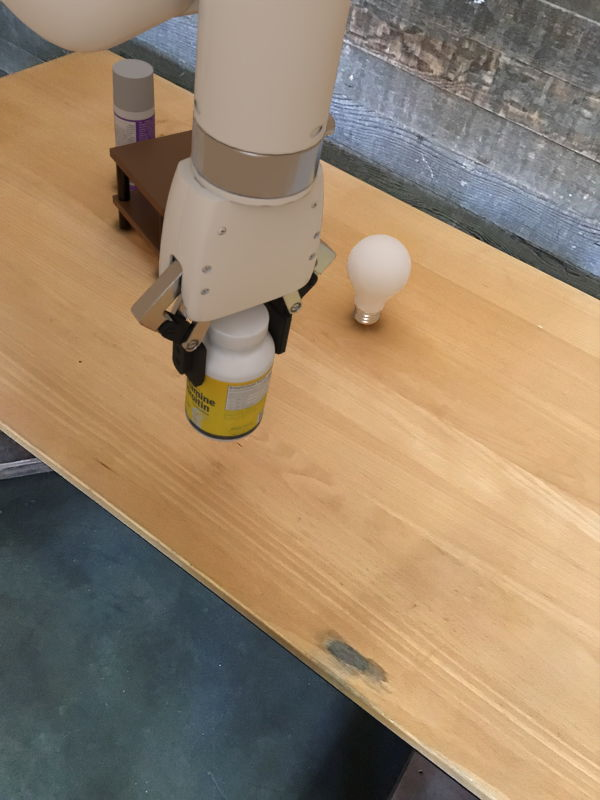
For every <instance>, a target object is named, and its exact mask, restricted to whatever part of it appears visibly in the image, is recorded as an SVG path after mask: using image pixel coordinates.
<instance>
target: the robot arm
mask: <svg viewBox="0 0 600 800" xmlns="http://www.w3.org/2000/svg"><path fill="white" fill-rule="evenodd" d="M0 1H1V2H2V4H4V6H6V8H7V9H8V10H9V11H10V12H11V13H12V14H13V15H14V16H15V17H16V18H17V19H19V20H20V21H21V23H23V24H24V25H25V26H26V27H28V28H29V29H30V30H31V31H33V32H34V33H35V34H37V35H38V36H39V37H41V38H42V39H44V40H45V41H47V42H49V43H51V44H52V45H54V46H57V47H59V48H61V49H64V50H66V51H69V52H70V51H71V52H76V53H84V54H92V53H98V52H103V51H108V50H109V49H113V48H115V47H117V46H119V45H121V44H123V43H125V42H127V41H130V40H132V39H133V38H136V37H137V36H140V35H142V34H144V33H147V32H148V31H150V30H151V29H153V28H155V27H158V26H159V25H161V24H163V23H166V22H167V21H169V20H171V19H174V18H179V17H185V16H191V15H196V14H197V28H196V47H195V48H196V49H195V66H194V85H193V86H194V87H193V90H194V91H193V106H192V107H193V109H192V124H191V125H192V126H191V127H192V128H191V130H192V144H191V157H189V158H186V159H184V160H181V161H180V162H179V163H178V166H177V169H176V171H175V174H174V177H173V180H172V184H171V187H170V191H169V195H168V200H167V204H166V209H165V215H164V222H163V229H162V237H161V246H160V258H158V260H159V261H158V277H157V278H156V280H155V281H154V282H153V283H152V284H151V285H150V286H149V287H148V288H147V289H146V290H145V291H144V292H143V294H142V295H141V296H140V297H139V298H138V299H137V300H136V301H135V302H134V303H133V305H132V306H131V308H130V313H131V314H132V315H133V317H134V318H135V320H136V321H137V322H138V324H139V325H140V326H142V327H144V328H146V329H148V330H150V331H152V332H153V333H158V334H160V335H161V337H162V338H164V339H166V340H168V341H170V342H172V350H171V351H172V353H171V354H172V356H171V359H172V360H171V361H172V364H173V366H174V369H175V370H176V371H177V373H178V374H179V375H181V376H182V375H185V376H186V379H187V378H188V379H189V380H190V382H191V383H192V384H193V386H194V387H198V386H201V385H202V384H203V382H204V378H205V366H206V355H207V349H206V347H205V345H204V344H203V343H202V340H203V338H204V336H205V334H206V332H207V330H208V328H209V327H210V325H211V323H212V321H213V320H215V319H219V318H222V317H225V316H228V315H231V314H234V313H237V312H240V311H243V310H246V309H248V308H251V307H254V306H257V305H260V304H264V305H265V307H266V308H267V310H268V313H269V323H268V331H269V333H270V335H271V336H272V338H273V341H274V345H275V355H278V356H279V355H282V354H284V353H286V350H287V344H288V340H289V335H290V329H291V326H292V325H291V324H292V321H293V315H295V314H296V313H298V312H299V311H300V310H301V309H302V308H303V301H302V299H303V298H304V297H305V296H306V295H307V294H308V293H309V292H310V291H311V290H312V288H313V287H314V286H316V284H317V282H318V281H319V275H322V274H323V273H324V272H325V270H327V268H328V267H329V266H330V265H331V264H332V263H333V261H335V259H336V258H337V253H336V252H335V250H334V249H333V248H332V247H331V246H329V244H328V243H326V242H325V241H324V240H323V239H322V238H321V235H322V229H323V220H324V206H325V205H324V204H325V182H324V181H325V179H324V169H323V165H322V163H321V162H320V161H321V157H322V151H323V145H324V140H325V137H327V136H331V135H333V134H334V133H335V130H336V121H335V118H334V117H335V116H333V114H332V113H331V112H330V110H331V106H332V100H333V95H334V90H335V86H336V80H337V75H338V69H339V65H340V60H341V54H342V50H343V44H344V40H345V35H346V29H347V24H348V18H349V14H350V9H351V4H352V0H0ZM174 301H175V302H174ZM173 302H174V304H173V306H172V308H171V310H170V311H168V310H167V309H168V308H169V307H170V306H171V305H172V303H173ZM187 319H188V320H187ZM190 321H191V322H190Z"/></svg>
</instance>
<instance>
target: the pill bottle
mask: <svg viewBox="0 0 600 800" xmlns="http://www.w3.org/2000/svg"><path fill="white" fill-rule="evenodd" d="M268 323H269V313H268V310H267V308H266V307H265V305H264V304H260V305H257V306H254V307H251V308H248V309H246V310H243V311H240V312H237V313H234V314H231V315H228V316H225V317H222V318H219V319H215V320H213V321H212V323H211V325H210V327H209V328H208V330H207V332H206V334H205V336H204V338H203V340H202V343H203V344H204V345H205V347H206V349H207V355H206V366H205V378H204V382H203V384H202V385H201V386H198V387H194V386H193V384H192V383H191V382H190V380H189V379H188V378H187V377H186V385H185V397H184V413H185V416H186V420H187V422H188V424H189V425H190V427H191V428H192V429H193V430H194V431H195V432H196V433H197V434H199V435H200V436H202V437H204V438H206V439H208V440H211V441H214V442H219V443H229V442H230V443H231V442H237V441H241V440H243V439H245V438H247V437H248V436H250V435H252V434H253V433H255V431H256V430H257V429H258V428H259V426H260V424H261V422H262V420H263V416H264V411H265V407H266V401H267V397H268V391H269V386H270V381H271V377H272V372H273V367H274V361H275V356H276V354H275V345H274V341H273V338H272V336H271V335H270V333H269V331H268Z"/></svg>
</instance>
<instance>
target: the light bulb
mask: <svg viewBox="0 0 600 800" xmlns="http://www.w3.org/2000/svg"><path fill="white" fill-rule="evenodd" d="M346 272H347V278H348V280H349V282H350V284H351V286H352V288H353V291H354V299H353V301H354V305H353V310H352V316H353V318H354V319H355V321H356V322H357V323H359V324H362V325H365V326H370V325H374V324H375V323H377V321H378V320H379V319H380V317H381V312H382V310H383V309H384V308H385V306H386V304H387V302H388V301H389V300H390V299H392V298H393V297H394V296H396V294H398V293H399V292H401V291H402V290H403V289H404V287H405V286H406V285H407V284H408V281H409V279H410V277H411V272H412V260H411V256H410V254H409V251H408V249H407V248H406V246H405V245H404V244H403V242H401V241H400V240H399V239H397V238H395V237H393V236H391V235H388V234H381V233H379V234H371V235H368V236H366V237H364V238H362V239H361V240H359V241H358V242H357V243H356V244H355V245H354V246H353V247H352V249H351V251H350V252H349V254H348V258H347V263H346Z"/></svg>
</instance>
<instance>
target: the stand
mask: <svg viewBox="0 0 600 800" xmlns="http://www.w3.org/2000/svg"><path fill="white" fill-rule="evenodd" d="M191 144H192V129H190V130H189V129H188V130H184V131H180V132H176V133H170V134H166V135H162V136H158V137H155V138H153V139H148V140H144V141H140V142H135V143H131V144H126V145H122V146H117V147H115V146H114V147H110V148H109V157H110V158H111V159H112V160H113V162H115V172H116V174H115V175H116V190H117V191H116V192H117V194H113V195H111V196H112V198H111V199H112V203H113V205H114V206H115V207H116V208H117V210H118V226H119V229H120V230H123V231H129V230H131V229H132V228H133V229H134V231H135V232H136V233H137V234H138V236H140V237H141V239H142V240H143V241H144V243H146V245H147V246H148V248H150V250H151V251H152V252H153V254H154V255H155V256H156V257H157V258H158V259H159V258H160V246H161V237H162V229H163V222H164V215H165V209H166V204H167V200H168V195H169V191H170V187H171V184H172V180H173V177H174V174H175V171H176V169H177V166H178V163H179V162H180V161H181V160H184V159H186V158H189V157H191ZM130 180H131V181H132V182H133V183H134V185H135V186H136V187H137V188H138V189H136V190H132V191H130Z"/></svg>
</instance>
